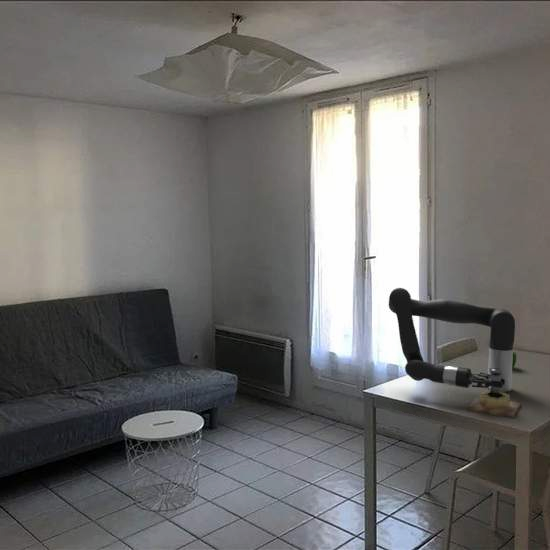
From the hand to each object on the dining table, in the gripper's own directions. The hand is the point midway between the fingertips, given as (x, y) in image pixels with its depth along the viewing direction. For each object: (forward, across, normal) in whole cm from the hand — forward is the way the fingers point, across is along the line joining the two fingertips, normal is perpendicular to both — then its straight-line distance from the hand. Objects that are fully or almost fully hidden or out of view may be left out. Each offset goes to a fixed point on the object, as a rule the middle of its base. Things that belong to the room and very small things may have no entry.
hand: (503, 383), depth 221 cm
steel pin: (-3, 0, +7) cm, 8 cm away
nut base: (-3, 0, +10) cm, 10 cm away
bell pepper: (-10, +62, +10) cm, 63 cm away
